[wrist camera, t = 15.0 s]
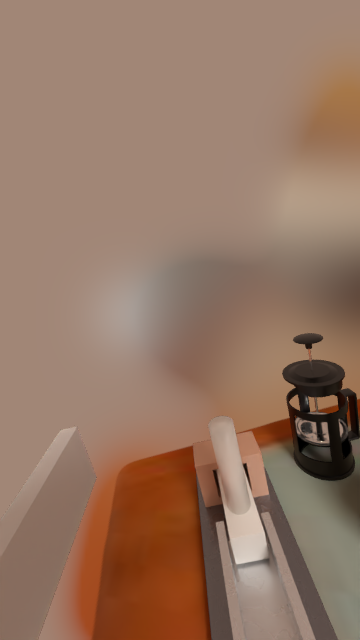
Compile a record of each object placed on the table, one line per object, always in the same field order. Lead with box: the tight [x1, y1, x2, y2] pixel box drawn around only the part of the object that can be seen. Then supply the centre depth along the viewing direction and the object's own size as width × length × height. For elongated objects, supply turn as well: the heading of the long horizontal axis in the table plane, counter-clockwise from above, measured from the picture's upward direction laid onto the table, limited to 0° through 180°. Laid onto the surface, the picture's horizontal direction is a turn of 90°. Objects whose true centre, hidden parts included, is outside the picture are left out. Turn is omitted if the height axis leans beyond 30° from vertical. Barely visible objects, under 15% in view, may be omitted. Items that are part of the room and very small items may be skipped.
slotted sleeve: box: [196, 467, 338, 640], centre depth 34 cm, size 12×27×6 cm, turn 1°
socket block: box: [193, 431, 269, 507], centre depth 42 cm, size 10×5×8 cm, turn 91°
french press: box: [282, 333, 360, 481], centre depth 43 cm, size 12×9×23 cm
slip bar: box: [208, 416, 270, 565], centre depth 35 cm, size 4×12×16 cm, turn 1°
